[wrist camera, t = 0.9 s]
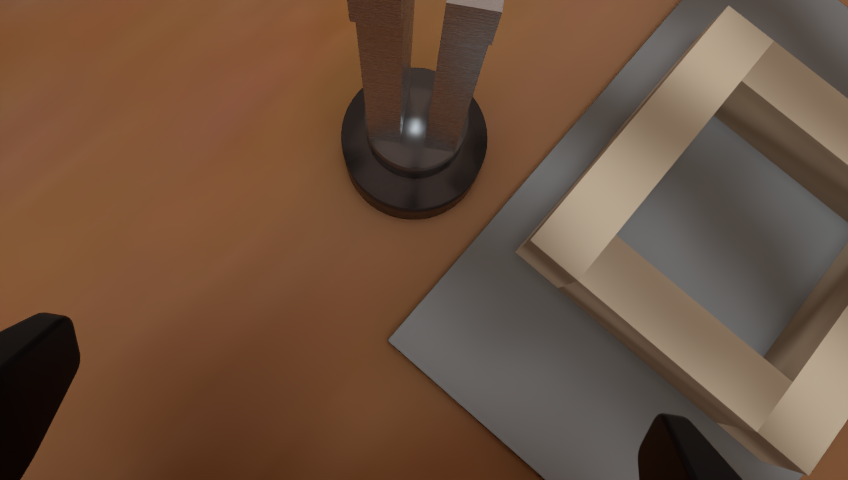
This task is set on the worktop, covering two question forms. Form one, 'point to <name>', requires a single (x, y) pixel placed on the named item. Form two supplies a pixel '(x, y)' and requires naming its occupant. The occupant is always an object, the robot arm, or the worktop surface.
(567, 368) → the dock
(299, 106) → the worktop surface
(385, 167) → the grey piece
